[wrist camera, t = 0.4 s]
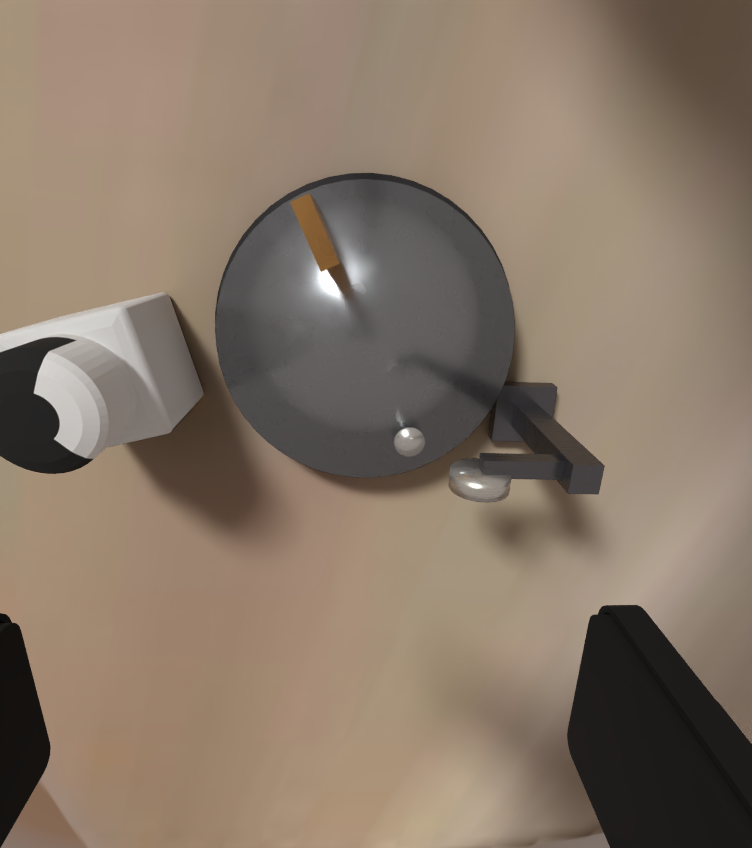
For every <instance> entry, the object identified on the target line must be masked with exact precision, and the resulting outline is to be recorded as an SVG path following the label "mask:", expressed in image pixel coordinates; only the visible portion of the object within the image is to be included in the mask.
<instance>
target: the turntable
mask: <svg viewBox="0 0 752 848" xmlns="http://www.w3.org/2000/svg"><path fill="white" fill-rule="evenodd" d="M215 327H216V346H217V352H218V357H219V363H220V367H221V370H222V373H223V376H224V379H225V383H226V385H227V387H228V389H229V391H230V393H231V396H232V398H233V400H234V401H235V403H236V405H237V406H238V408H239V409H240V411H241V413H242V414H243V416H244V417H245V418H246V419H247V421H248V422H249V423H250V424H251V425H252V427H253V428H254V429H255V430H256V431H257V432H258V433H259V434H260V435H261V436H262V437H263V438H264V439H265V440H266V441H267V442H268V443H270V444H271V445H272V446H274V447H275V448H276V449H278V450H279V451H280V452H282V453H283V454H285V455H287V456H288V457H290V458H292V459H294V460H296V461H297V462H299V463H301V464H304V465H306V466H309V467H311V468H313V469H316V470H319V471H323V472H327V473H330V474H334V475H341V476H347V477H363V478H371V477H383V476H390V475H395V474H399V473H404V472H407V471H410V470H413V469H416V468H419V467H422V466H424V465H426V464H428V463H430V462H432V461H434V460H437V459H438V458H440V457H441V456H443V455H445V454H446V453H448V452H449V451H451V450H452V449H454V448H455V447H456V446H457V445H459V444H460V443H461V442H462V441H464V440H465V439H466V438H467V437H468V436H469V435H470V434H471V433H472V432H473V431H474V430H475V429H476V428H477V427H478V426H479V424H480V423H481V422H482V421H483V419H484V418H485V417H486V415H487V414H488V413H489V411H490V410H491V408H492V406H493V405H494V403H495V401H496V399H497V398H498V396H499V394H500V392H501V389H502V387H503V385H504V382H505V380H506V377H507V374H508V370H509V367H510V363H511V359H512V353H513V346H514V332H515V320H514V310H513V302H512V298H511V294H510V290H509V286H508V282H507V280H506V277H505V275H504V272H503V269H502V267H501V264H500V263H499V261H498V259H497V257H496V255H495V254H494V252H493V250H492V248H491V247H490V245H489V244H488V243H487V241H486V240H485V239H484V237H483V236H482V235H481V233H480V232H479V231H478V230H477V229H476V228H475V227H474V226H473V225H472V224H471V223H470V222H469V221H468V220H467V219H466V218H465V217H464V216H463V215H462V214H461V213H459V212H458V211H457V210H455V209H454V208H453V207H451V206H450V205H449V204H447V203H446V202H444V201H442V200H440V199H438V198H437V197H435V196H433V195H431V194H429V193H427V192H425V191H422V190H419V189H417V188H414V187H411V186H409V185H404V184H400V183H395V182H391V181H385V180H371V179H360V180H346V181H340V182H335V183H331V184H326V185H322V186H319V187H317V188H314V189H312V190H309V191H306V192H304V193H301V194H300V195H298V196H296V197H294V198H292V199H291V200H289V201H287V202H285V203H283V204H282V205H281V206H279V207H278V208H277V209H275V210H274V211H273V212H271V213H270V214H269V215H267V216H266V217H265V218H264V219H263V220H262V221H261V222H260V223H259V224H258V225H257V226H256V227H255V228H254V229H253V230H252V231H251V233H250V234H249V235H248V237H247V238H246V239H245V241H244V242H243V243H242V245H241V246H240V247H239V249H238V251H237V253H236V255H235V256H234V258H233V260H232V262H231V264H230V266H229V268H228V270H227V273H226V276H225V278H224V281H223V284H222V287H221V291H220V295H219V300H218V304H217V313H216V325H215Z"/></svg>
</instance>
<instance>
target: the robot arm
mask: <svg viewBox="0 0 752 848" xmlns="http://www.w3.org/2000/svg"><path fill="white" fill-rule="evenodd" d="M567 737H568V746H569V750H570V754H571V757H572V759H573V761H574V764H575V766H576V769H577V771H578V773H579V776H580V778H581V780H582V783H583V785H584V787H585V790H586V792H587V794H588V797H589V799H590V801H591V804H592V806H593V808H594V811H595V813H596V815H597V818H598V820H599V822H600V825H601V827H602V829H603V832H604V834H605V836H606V838H607V841H608V844H609V846H610V848H752V744H751V743H750V742H749V740H748V739H747V738H746V737H745V735H744V734H743V733H742V732H741V730H740V729H739V728H738V726H737V725H736V724H735V723H734V721H733V720H732V719H731V718H730V716H729V715H728V714H727V713H726V711H725V710H724V709H723V708H722V706H721V705H720V704H719V703H718V702H717V701H716V700H715V699H714V697H713V696H712V695H711V693H710V692H709V691H708V690H707V688H706V687H705V686H704V685H703V683H702V682H701V681H700V680H699V678H698V677H697V676H696V675H695V673H694V672H693V671H692V669H691V668H690V667H689V666H688V664H687V663H686V662H685V661H684V659H683V658H682V657H681V656H680V654H679V653H678V652H677V651H676V649H675V648H674V647H673V646H672V644H671V643H670V642H669V640H668V639H667V638H666V637H665V635H664V634H663V633H662V632H661V630H660V629H659V628H658V627H657V625H656V624H655V623H654V622H653V620H652V619H651V618H650V616H649V615H648V614H647V613H646V611H645V610H644V609H643V608H642V607H640V606H638V605H606V606H602V607H601V609H600V610H599V613H598V615H592V616H591V617H590V620H589V624H588V629H587V634H586V639H585V644H584V650H583V655H582V660H581V665H580V670H579V675H578V680H577V685H576V691H575V696H574V701H573V706H572V711H571V716H570V721H569V726H568V733H567ZM49 756H50V742H49V738H48V734H47V730H46V726H45V722H44V718H43V714H42V710H41V707H40V703H39V699H38V695H37V691H36V687H35V683H34V679H33V675H32V672H31V668H30V664H29V660H28V656H27V652H26V648H25V644H24V640H23V637H22V633H21V629H20V627H19V625H17V624H16V623H12V622H11V620H10V618H9V617H8V616H7V615H6V614H1V613H0V847H1V846H2V844H3V842H4V840H5V839H6V837H7V835H8V834H9V832H10V830H11V829H12V827H13V825H14V823H15V822H16V820H17V818H18V816H19V815H20V813H21V811H22V809H23V808H24V806H25V804H26V802H27V801H28V799H29V797H30V796H31V794H32V792H33V790H34V788H35V787H36V785H37V783H38V782H39V780H40V778H41V776H42V775H43V773H44V771H45V769H46V767H47V764H48V761H49Z"/></svg>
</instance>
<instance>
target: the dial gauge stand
mask: <svg viewBox="0 0 752 848" xmlns="http://www.w3.org/2000/svg"><path fill="white" fill-rule="evenodd" d="M556 393H557V387H556V386H555V385H554V384H552V383H526V382H504V385H503V387H502V389H501V392H500V394H499V396H498V398H497V399H496V401H495V403H494V405H493V406H492V411H491V419H490V427H489V435H488V436H489V437H490V439H491V440H492V441H514V442H525V443H526V444H527V445H528V446H529V447H530V449H531V450H532V451H533V452H534V453H535V454H499V453H480V459H475V458H470V459H462V460H458V461H456V462H454V463H453V464H452V465H451V467H450V475H449V488H450V490H451V491H452V492H453V493H454V494H456V495H458V496H459V497H462V498H464V499H467V500H471V501H476V502H497V501H501V500H503V499H505V498H506V497H507V496H508V495H509V491H510V484H511V479H548V480H557V481H558V482H559V484H560V485H561V486H562V487H563V488H564V490H565V491H566V492H567V493H568V494H599V490H600V485H601V481H602V476H603V471H604V465H603V464H602V463H601V462H600V461H599V460H598V459H597V458H596V457H595V456H594V455H592V454H591V453H590V452H589V451H588V450H587V449H586V448H585V447H584V446H583V445H582V444H581V443H579V442H578V441H577V440H576V439H575V438H574V437H573V436H572V435H571V434H570V433H569V432H567V431H566V430H565V429H564V428H563V427H562V426H561V425H560V424H559V423H558V422H557V421H556V420H554V419H553V418H552V417H553V411H554V405H555V399H556Z"/></svg>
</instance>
